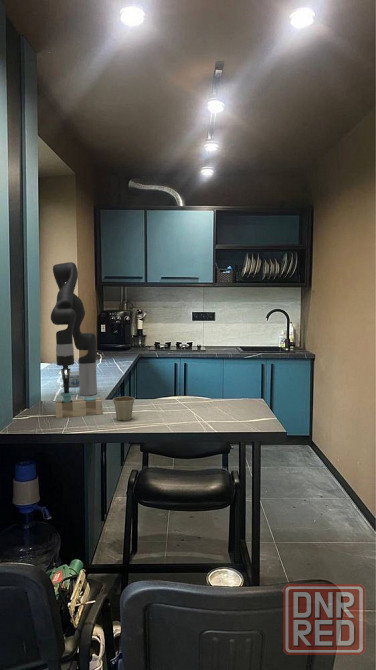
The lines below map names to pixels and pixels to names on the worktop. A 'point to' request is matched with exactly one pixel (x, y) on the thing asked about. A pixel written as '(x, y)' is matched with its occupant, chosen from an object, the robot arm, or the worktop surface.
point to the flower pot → (124, 407)
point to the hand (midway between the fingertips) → (66, 393)
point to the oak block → (78, 408)
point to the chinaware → (74, 379)
